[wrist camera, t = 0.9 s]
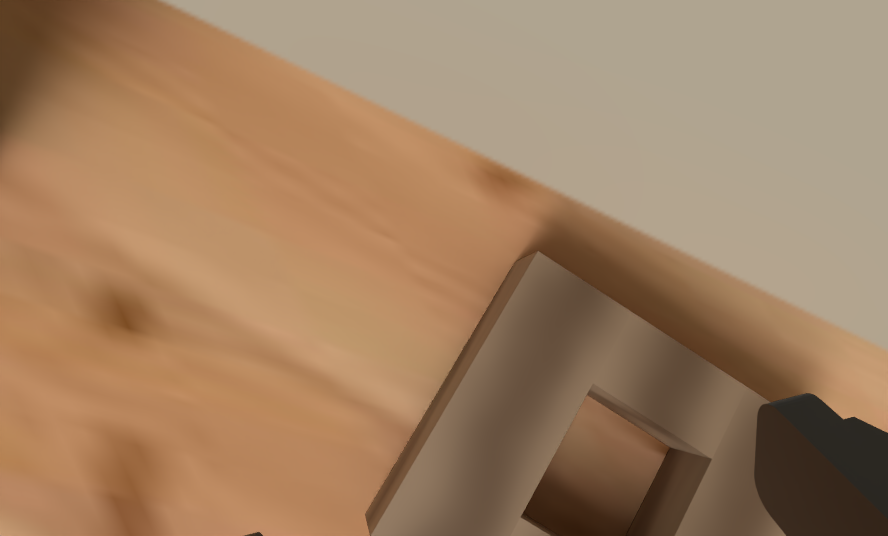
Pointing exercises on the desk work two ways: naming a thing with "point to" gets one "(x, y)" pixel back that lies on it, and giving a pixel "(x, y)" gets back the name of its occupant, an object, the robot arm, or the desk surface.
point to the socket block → (553, 409)
